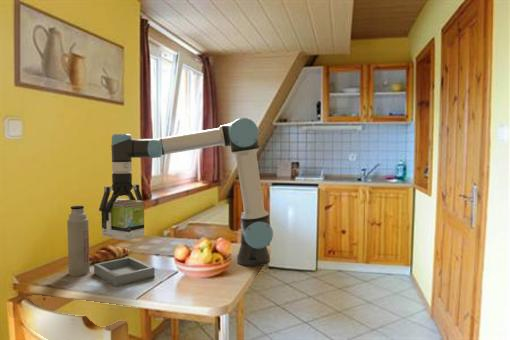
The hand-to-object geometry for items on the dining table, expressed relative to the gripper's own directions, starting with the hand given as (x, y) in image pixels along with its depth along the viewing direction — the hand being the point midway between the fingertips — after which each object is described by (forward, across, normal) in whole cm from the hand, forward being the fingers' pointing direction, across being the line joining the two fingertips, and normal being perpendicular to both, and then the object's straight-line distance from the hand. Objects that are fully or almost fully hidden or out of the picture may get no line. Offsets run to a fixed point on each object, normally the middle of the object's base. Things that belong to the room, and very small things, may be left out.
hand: (122, 226), depth 160 cm
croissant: (+21, +6, +27) cm, 34 cm away
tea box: (+4, 0, 0) cm, 4 cm away
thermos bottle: (+20, -12, +16) cm, 29 cm away
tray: (+20, 0, 0) cm, 20 cm away
